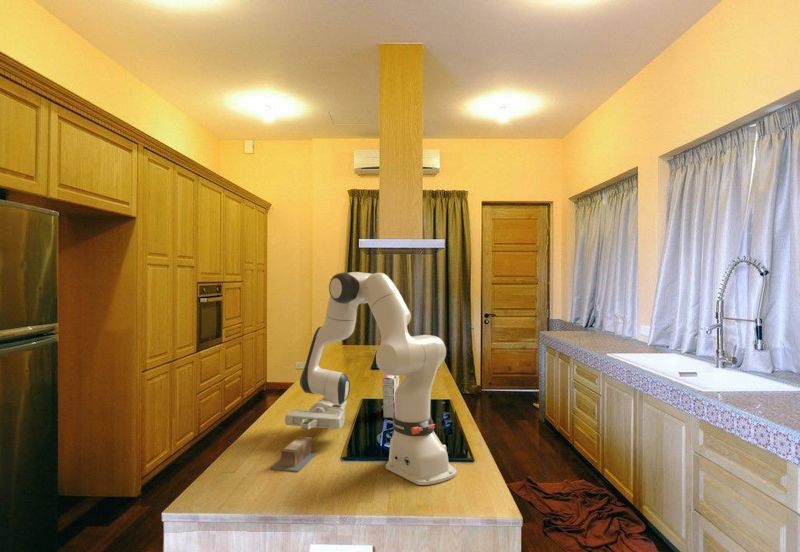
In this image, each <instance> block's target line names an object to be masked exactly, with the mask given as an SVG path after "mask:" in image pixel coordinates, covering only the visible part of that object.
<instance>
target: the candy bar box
mask: <svg viewBox="0 0 800 552" xmlns="http://www.w3.org/2000/svg"><path fill="white" fill-rule="evenodd" d="M399 385H400V376H392V375H385V376H384V377H382V408H383V409H382V410H383V411H382V412H383V413H382V415H383V418H384V419H393V417H394V416H395V391H396V389H397V388H398V386H399Z"/></svg>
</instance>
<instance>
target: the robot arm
mask: <svg viewBox="0 0 800 552" xmlns="http://www.w3.org/2000/svg"><path fill="white" fill-rule="evenodd" d="M329 281H330V282H329V285H328V290H329V291H328V292H329V298H328V302H327V307H326V313H325V314H326V316H325V320H324V323H323V324H322V325H321V326H318V327H317V329H316V330H315V332H314V335H313V337H312V341H311V343H310V347H309V350H308V351H309V352H308V353H307V358H306V361H305V365H304V367H303V370H302V372H301V375H300V378H299V385H300V388H301V390H302V391H303V392H304V393H305V394H311V395H319V396H323V398H321V399H319V400H318V401H316V402H315V403H313V404H312V405H310V407H309V409H300V408H299V409H294V410H291V411H289V412H287V413H285V415H284V424H285V426H292V427H294V426H296V427H300V429H301V430H310V429H313V428H317V429H318V428H320V429H330V430H338V429H341V428H342V427H344V425H345V419H346V418H345V415H346V414H345V413H346V412H345V408H346V406H347V402H348V401H347V400H348V398H349V394H350V390H351V389H350V388H351V383H350V379H349V377H348V376H347V374H346V373H345V372H341V371H336V370H331V369H326V368H322V367H320V366H319V364H320V360H321V357H322V353H323V349H324V347H325V346H326V345H327V344H332V343H336V342H341V341H343V340H346V339H348V338H350V337H351V336H352V335H353V333H354V331H355V327H356V323H357V313H358V312H357V311H358V307H359V305H360V304H363V305H364V304H367V305H368V306H369V309H370V311H371V314H372V315H373V318H374V319H375V322H376V324H377V326H378V329H379V333H380V344H379V345H378V348H377V350H376V353H375V362H376V365H377V367H378V369H379V371H380V372H381V373H382V374H384V375H385V376H386V375H392V376H399V377H401V376H404V377H403V379H402V381H401V383H399V386H398V388H397V389H396V391H395V416H394V417H393V418H392V428H393V433H392V436H391V437H390V441H389V450H388V451H389V454H388V461H387V463H386V464H385V469H386V470H388V471H390V472H391V473H393V474H396V475H398V476H399V477H401V478H404V479H406V480H408V481H410V482H412V483H413V484H416V485H419V486H429V485H434V484H439V483H443V482H445V481H448V480H450V479H452V478H454V477H456V476H457V474H458V471H457V468H455V467H454V466H453V465H451V463H450V462H449V456H448V455H449V454H448V451H447V450H448V449H447V446H446V444H443V443H442V442H441V441H440V438H439V437H438V435H437V434H436V433H435V428H436V423H434V421H433V418H432V415H431V398H432V397H431V395H432V388H433V384H434V381H435V378H436V375H437V372H438V369H439V368H440V366H441V365H442V363H444V361H445V359H446V356H447V347H446V345H445V342H444V341H443V340H442V338H440V337H439V336H436V335H430V334H422V335H421V334H420V335H414V336H412V335H411V334H410V333H409V330H408V325H410V322H411V319H412V313H411V311H410V309H409V308H408V305H407V304H406V302H405V300H404V298H403V296H402V295H401V293H400V291H399V289H398V288H397V286H396V284H395V283H394V282H393V280H392V279H391V278H390V277H389V276H388V275H387V274H385V273H384V272H371V273H370V272H360V271H353V272H352V271H351V272H340V273H337V274H335V275H333V276H332V277H331V279H330V280H329Z"/></svg>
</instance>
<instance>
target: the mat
mask: <svg viewBox="0 0 800 552" xmlns="http://www.w3.org/2000/svg"><path fill="white" fill-rule="evenodd" d="M316 455H317V453H315V452H310V453H309V454H308V455H307V456H306V457H305V458H304V459H303V460H302V461H300V462H299V463H298V464H297V465H296V466H295V467H293V466H284V465H281V459H280V460H277V462H275V464H273V465H272V466H271V467H270V470H274V471H275V470H276V471H285V472H294V473H299V472H300V471H301V470H302V469H303V468H304V467H305V466H306V465H307V464H308V463H310V461H312V460H313V458H315V457H316Z"/></svg>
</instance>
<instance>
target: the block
mask: <svg viewBox="0 0 800 552" xmlns="http://www.w3.org/2000/svg"><path fill="white" fill-rule="evenodd" d="M312 440H313V439H312V437H311V436H300V435H299V436H298V437H296V438H295V439H294V440H292V441H291V442H290V443H289V444H287V445H286V446H285V447H283V448H282V449H281V450H280V453H281V454H280V456H281V457H280V460H281V465H284V466H293V467H295V466H296V465H297V464H298V463H299V462H300V461H302V460H303V459H304V458H305V457H306V456H307V455H308V454H309V453H312V451H313V448H312V447H313V441H312Z"/></svg>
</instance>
